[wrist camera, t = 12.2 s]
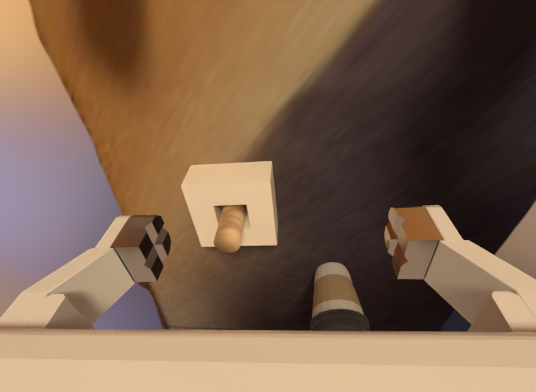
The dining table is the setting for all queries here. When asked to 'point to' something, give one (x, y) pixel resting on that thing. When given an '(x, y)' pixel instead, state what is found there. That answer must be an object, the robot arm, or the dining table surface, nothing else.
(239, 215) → the peg
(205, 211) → the socket block
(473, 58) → the dining table surface
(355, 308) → the coffee cup
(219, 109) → the dining table surface
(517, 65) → the dining table surface
